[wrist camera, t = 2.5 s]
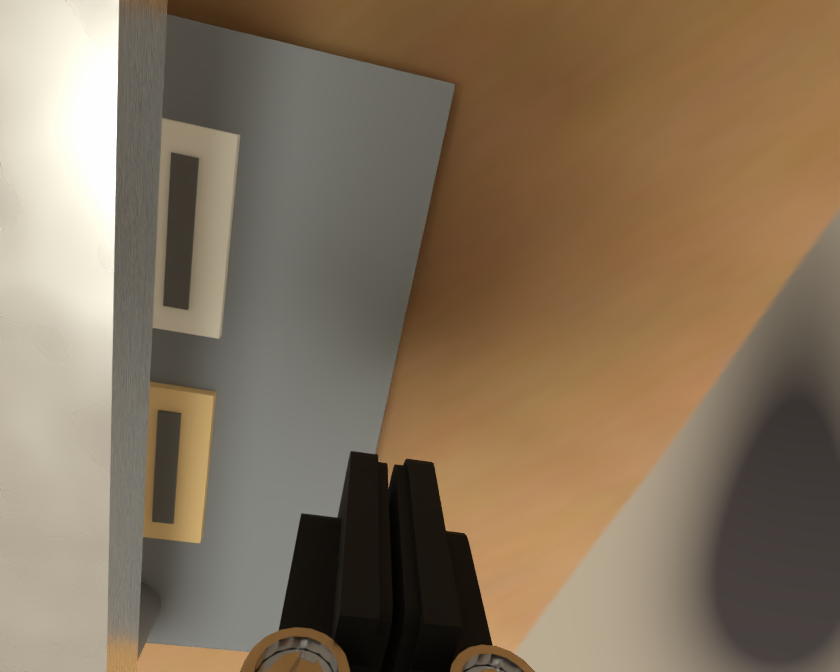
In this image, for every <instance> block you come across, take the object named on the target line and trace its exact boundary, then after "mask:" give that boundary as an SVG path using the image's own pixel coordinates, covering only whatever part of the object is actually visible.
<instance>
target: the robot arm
mask: <svg viewBox="0 0 840 672" xmlns="http://www.w3.org/2000/svg"><path fill="white" fill-rule="evenodd" d="M240 672H535V671H534V670H533V669H532V668H531V667H530V666H529V665H528V664H527V663H526V662H525V661H524V660H523V659H521V658H520V657H518V656H517V655H515V654H514V653H512V652H511V651H508V650H505V649H503V648H500V647H497V646H493V645H492V641H491V637H490V632H489V628H488V624H487V619H486V615H485V611H484V606H483V602H482V598H481V593H480V589H479V585H478V580H477V576H476V572H475V567H474V563H473V559H472V554H471V550H470V546H469V541H468V538H467V536H466V535H465V534H464V533H458V532H450V531H446V529H445V524H444V518H443V512H442V507H441V501H440V496H439V490H438V485H437V479H436V473H435V468H434V464H433V463H432V462H427V461H420V460H412V459H406V460H405V462H404V465H396V464H395V465H394V468H393V472H392V476H391V481H390V485H389V489H388V466H387V463H381V462H378V455H377V454H370V453H363V452H356V451H351V452H350V456H349V460H348V466H347V471H346V476H345V481H344V486H343V491H342V496H341V501H340V507H339V512H338V517H337V518H336V517H328V516H320V515H312V514H304V513H301V517H300V522H299V527H298V532H297V538H296V543H295V548H294V553H293V558H292V563H291V569H290V574H289V579H288V584H287V589H286V595H285V600H284V605H283V610H282V615H281V620H280V626H279V631H277V632H274V633H272V634H270V635H268V636H266V637H264V638H263V639H262V640H261V641H260V642H259V643H258V644H256V645H255V646H254V647H253V648H252V650H251V652H250V653H249V655H248V656H247V658H246V660H245V661H244V664H243V666H242V668H241V671H240Z"/></svg>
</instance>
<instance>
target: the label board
mask: <svg viewBox="0 0 840 672" xmlns="http://www.w3.org/2000/svg"><path fill="white" fill-rule="evenodd" d="M454 88H455V84H453V83H449V82H445V81H441V80H437V79H432V78H428V77H424V76H420V75H416V74H412V73H408V72H404V71H400V70H395V69H391V68H387V67H383V66H379V65H375V64H371V63H367V62H362V61H358V60H354V59H350V58H346V57H342V56H338V55H334V54H330V53H325V52H321V51H317V50H313V49H309V48H305V47H301V46H297V45H293V44H288V43H284V42H280V41H276V40H272V39H268V38H264V37H260V36H256V35H251V34H247V33H243V32H239V31H235V30H231V29H227V28H223V27H219V26H214V25H210V24H206V23H202V22H198V21H194V20H190V19H186V18H181V17H177V16H173V15H169V14H167V21H166V43H165V65H164V86H163V108H162V130H161V152H160V174H159V196H158V218H157V240H156V262H155V284H154V306H153V328H152V350H151V372H150V394H149V416H148V438H147V460H146V482H145V504H144V526H143V548H142V570H141V591H140V613H139V635H138V657H137V661H138V659H139V657H140V654H141V652H142V650H143V648H144V645H145V643H154V644H166V645H177V646H189V647H200V648H211V649H223V650H234V651H246V652H251V650H252V648H253V647H254V646H255V645H256V644H258V643H259V642H260V641H261V640H262V639H263V638H264V637H266V636H268V635H270V634H272V633H274V632H277V631H279V626H280V620H281V615H282V610H283V605H284V600H285V595H286V589H287V584H288V579H289V574H290V569H291V563H292V558H293V553H294V548H295V543H296V538H297V532H298V527H299V522H300V517H301V513H304V514H312V515H320V516H328V517H336V518H337V517H338V512H339V507H340V501H341V496H342V491H343V486H344V481H345V476H346V471H347V466H348V460H349V456H350V452H351V451H356V452H363V453H370V454H376V449H377V444H378V440H379V435H380V430H381V426H382V421H383V417H384V412H385V407H386V403H387V398H388V394H389V389H390V384H391V380H392V375H393V370H394V366H395V361H396V357H397V352H398V347H399V343H400V338H401V333H402V329H403V324H404V320H405V315H406V310H407V306H408V301H409V296H410V292H411V287H412V283H413V278H414V273H415V269H416V264H417V259H418V255H419V250H420V246H421V241H422V236H423V232H424V227H425V222H426V218H427V213H428V209H429V204H430V199H431V195H432V190H433V185H434V181H435V176H436V172H437V167H438V162H439V158H440V153H441V149H442V144H443V139H444V135H445V130H446V125H447V121H448V116H449V112H450V107H451V102H452V98H453V93H454Z"/></svg>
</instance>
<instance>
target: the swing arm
mask: <svg viewBox="0 0 840 672" xmlns="http://www.w3.org/2000/svg"><path fill="white" fill-rule="evenodd" d="M166 21H167V0H0V672H137V657H138V635H139V613H140V591H141V570H142V548H143V526H144V504H145V482H146V460H147V438H148V416H149V394H150V372H151V350H152V328H153V306H154V284H155V262H156V240H157V218H158V196H159V174H160V152H161V130H162V108H163V86H164V65H165V43H166Z"/></svg>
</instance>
